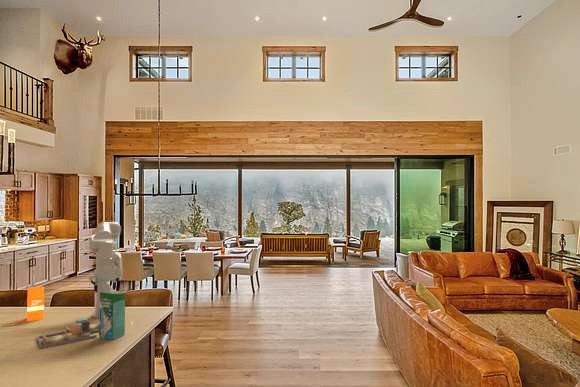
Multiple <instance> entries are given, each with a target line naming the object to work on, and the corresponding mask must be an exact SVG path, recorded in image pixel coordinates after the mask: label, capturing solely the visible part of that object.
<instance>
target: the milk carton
mask: <svg viewBox="0 0 580 387" xmlns="http://www.w3.org/2000/svg"><path fill="white" fill-rule="evenodd" d="M125 319H126V294H125V293H120V291H119V290H111V293H106V292H100V318H99V323H100V328H99V331H98V334H99V335H98V336H99V339H103V340H110V341H113V340H116V339H118V338H121V337H122V336H125V333H126V332H125V326H126V324H125V322H126V321H125Z"/></svg>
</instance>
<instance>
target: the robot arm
mask: <svg viewBox="0 0 580 387" xmlns="http://www.w3.org/2000/svg"><path fill="white" fill-rule="evenodd" d="M121 231H122V227H121V225H120V223H119V222H117V221H104V222H100V223H98V224H97V226H96V228H94V229H92V231H91V236H90V237H89V242H88V246H89V251H90V252H91V253H95V263H96V267H95V269H94V271H93V275H92V276H91V277H89V278H88V280H89V282H90V283H91V284H92V285H93V291H94V309H93V310H94V312H93V313H92V314H91V318H93V319H100V292H106V293H111V292H112V291H116V288H117V282H119V281H121V280H122V279H123V276H124V271H123V270H124V269H123V256H122V254H121V252H118V251H115V252H114V250H115V248H116V246H117V244H116V240H119V238H120V235H121V233H122V232H121ZM108 282H112V288H111V285H110V284H109V283H108Z"/></svg>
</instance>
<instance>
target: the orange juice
mask: <svg viewBox="0 0 580 387" xmlns="http://www.w3.org/2000/svg"><path fill="white" fill-rule="evenodd" d="M26 302H27V304H26V305H27V306H26V322H32V321H38V320H39V321H40V320H44V316H45V315H44V313H45V312H44V311H45V286H44V285H43V286H42V285H41V286H35V287H34V286H33V287H28V288H27V300H26Z"/></svg>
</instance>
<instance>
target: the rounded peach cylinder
mask: <svg viewBox="0 0 580 387" xmlns="http://www.w3.org/2000/svg"><path fill="white" fill-rule="evenodd" d="M71 328H72V335H79V334H81V324H80V323H77V324H76V323H73V324H71Z"/></svg>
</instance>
